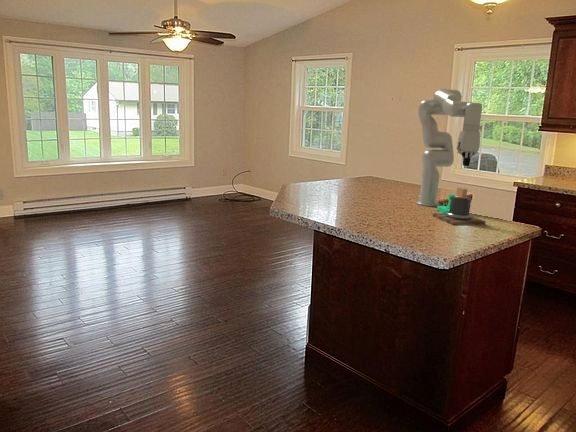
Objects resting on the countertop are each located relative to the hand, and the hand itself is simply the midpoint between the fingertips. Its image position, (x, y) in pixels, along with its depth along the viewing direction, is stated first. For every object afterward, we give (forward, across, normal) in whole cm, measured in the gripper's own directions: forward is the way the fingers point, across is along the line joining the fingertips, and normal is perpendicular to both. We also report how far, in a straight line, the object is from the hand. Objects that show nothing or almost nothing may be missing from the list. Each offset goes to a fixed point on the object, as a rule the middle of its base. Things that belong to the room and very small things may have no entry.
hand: (465, 165), depth 242 cm
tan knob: (+20, +2, +3) cm, 20 cm away
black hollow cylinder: (+26, +2, +3) cm, 26 cm away
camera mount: (+28, -2, -14) cm, 31 cm away
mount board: (+27, +2, +3) cm, 27 cm away
